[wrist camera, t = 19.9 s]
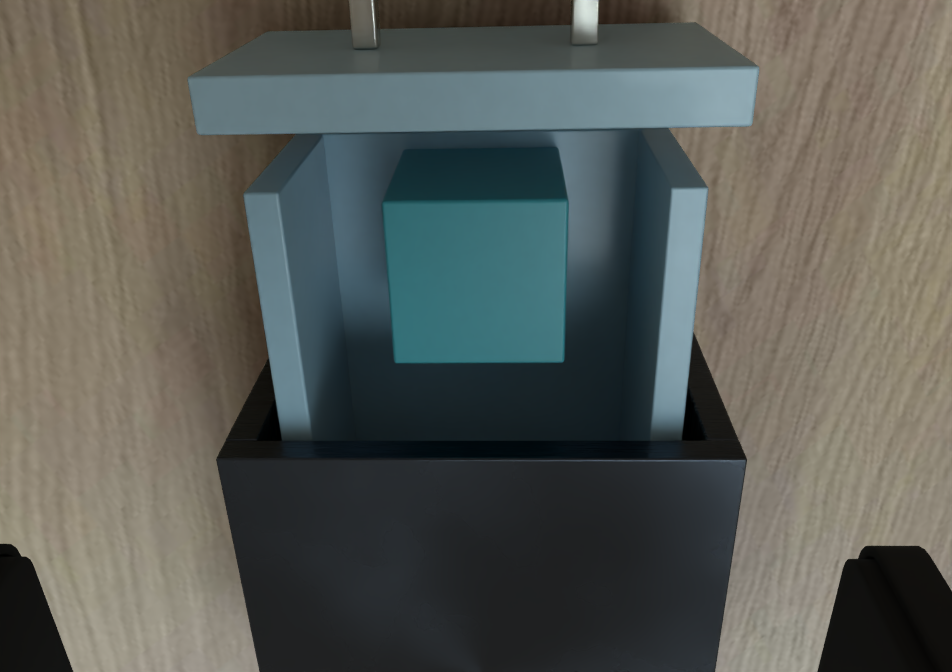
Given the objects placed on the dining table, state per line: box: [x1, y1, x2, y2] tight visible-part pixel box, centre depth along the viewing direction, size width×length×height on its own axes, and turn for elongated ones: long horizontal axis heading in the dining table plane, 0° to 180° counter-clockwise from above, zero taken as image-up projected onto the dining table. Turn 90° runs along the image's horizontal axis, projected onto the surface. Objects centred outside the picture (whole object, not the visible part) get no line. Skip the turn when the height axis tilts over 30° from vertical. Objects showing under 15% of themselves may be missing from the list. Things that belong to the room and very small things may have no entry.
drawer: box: [188, 0, 759, 441], centre depth 21 cm, size 20×11×6 cm, turn 1°
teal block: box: [381, 147, 569, 363], centre depth 22 cm, size 4×4×4 cm
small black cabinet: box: [216, 332, 747, 672], centre depth 27 cm, size 15×13×8 cm
